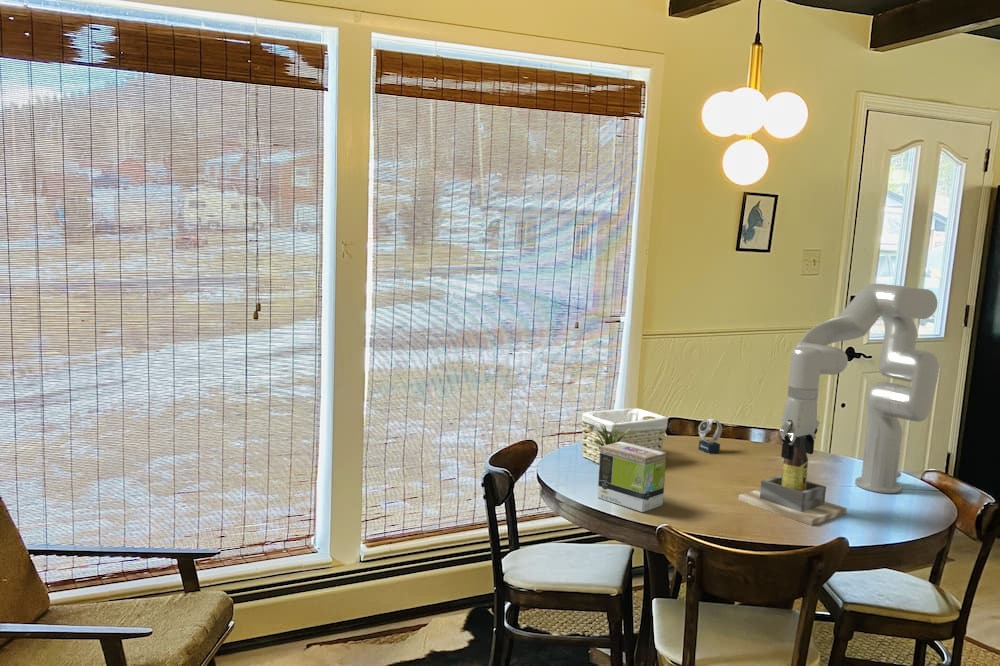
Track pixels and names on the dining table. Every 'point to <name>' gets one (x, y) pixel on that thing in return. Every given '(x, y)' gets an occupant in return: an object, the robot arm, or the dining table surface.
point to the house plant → (610, 439)
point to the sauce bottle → (796, 467)
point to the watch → (711, 445)
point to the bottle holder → (793, 501)
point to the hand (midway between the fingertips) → (797, 455)
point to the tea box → (632, 476)
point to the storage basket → (622, 429)
